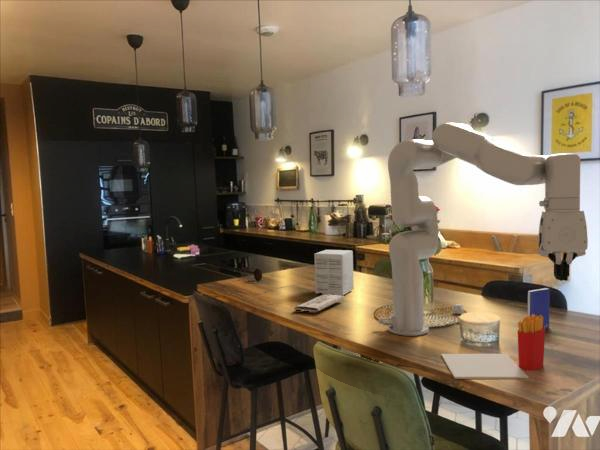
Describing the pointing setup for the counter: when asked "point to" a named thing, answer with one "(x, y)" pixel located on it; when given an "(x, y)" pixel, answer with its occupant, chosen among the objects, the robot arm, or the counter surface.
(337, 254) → the supplement box
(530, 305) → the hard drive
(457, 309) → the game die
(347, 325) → the counter surface
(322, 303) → the newspaper
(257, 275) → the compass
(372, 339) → the counter surface
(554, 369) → the counter surface
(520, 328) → the french fries
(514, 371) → the mat
